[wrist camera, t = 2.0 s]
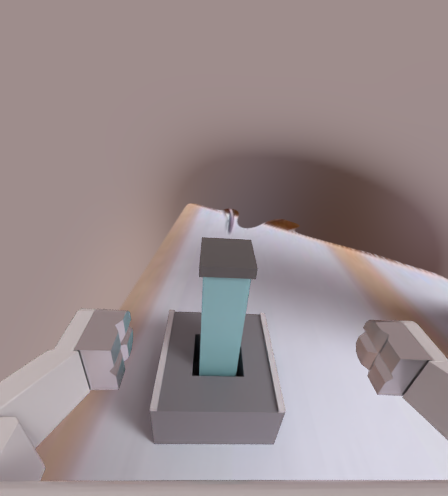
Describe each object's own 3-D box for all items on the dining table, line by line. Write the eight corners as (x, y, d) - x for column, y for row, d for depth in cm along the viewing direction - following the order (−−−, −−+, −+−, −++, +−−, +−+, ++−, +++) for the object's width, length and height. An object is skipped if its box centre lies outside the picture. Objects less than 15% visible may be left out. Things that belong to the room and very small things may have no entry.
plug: (197, 364, 33) (201, 237, 24) (232, 365, 34) (251, 239, 24) (195, 399, 29) (199, 266, 20) (235, 400, 30) (257, 268, 20)
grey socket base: (171, 343, 37) (169, 309, 33) (257, 345, 37) (264, 312, 34) (154, 443, 27) (149, 409, 23) (273, 444, 27) (285, 410, 24)
